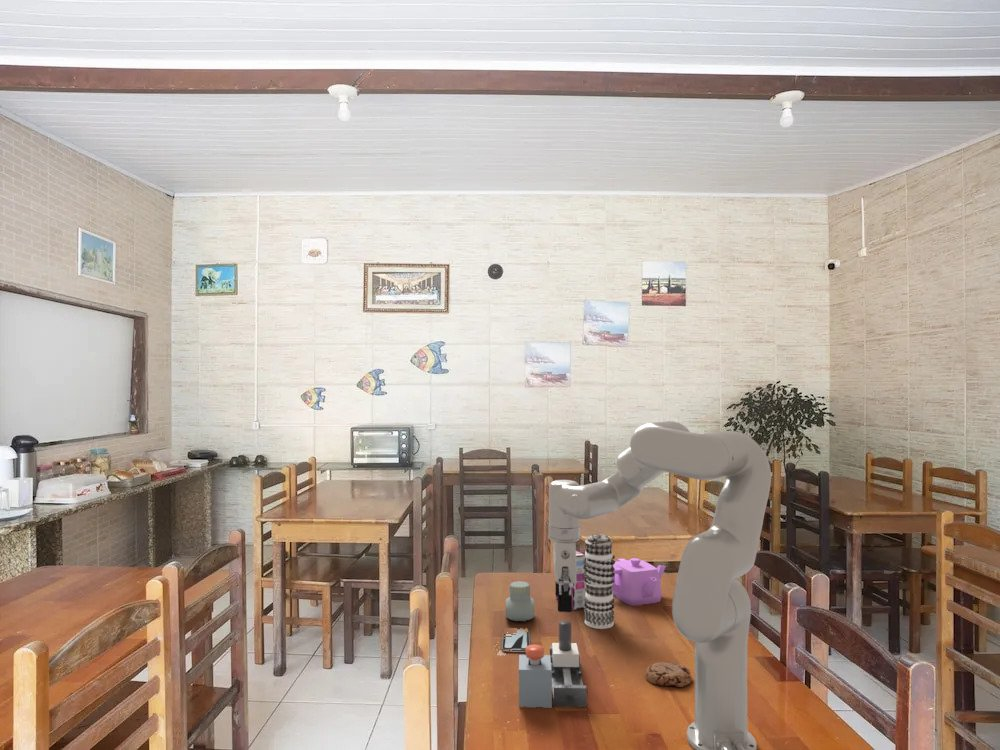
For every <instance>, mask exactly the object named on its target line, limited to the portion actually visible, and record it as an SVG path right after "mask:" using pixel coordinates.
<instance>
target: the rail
mask: <svg viewBox="0 0 1000 750" xmlns="http://www.w3.org/2000/svg"><path fill="white" fill-rule="evenodd" d="M549 655H552V646H549ZM552 661H553V659H552ZM552 663H553V662H552ZM587 690H588V689H587V685H584V683H583V676H582V671H581V672H579V671H578V667H553V672H552V699H553V700H552V702H553V707H555V706H557V707H562V708H564V707H565V708H568V707H569V708H570V707H571V708H572V707H573V708H587V706H588V705H587V704H588V701H587V700H588V699H587V696H588V695H587V692H588V691H587Z"/></svg>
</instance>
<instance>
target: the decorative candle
mask: <svg viewBox="0 0 1000 750" xmlns="http://www.w3.org/2000/svg"><path fill="white" fill-rule="evenodd" d="M584 542H585V551H584V554H585V557H586V558H585V559H584V560H583V564H584V565H583V566H584V567H583V569H585V572H584V576H585V577H584V582H585V583H586V592H585V595H586V597H585V599H584V601H585V604H584V606H585V607H586V608H584V609H583V610H584V611H583V612H584V615H583V618H584V624H585V625H586V626H588V627H590V628H591V629H592V628H593V629H598V630H599V629H600V630H605V629H610V628H612V627H613V626H615V610H614V609H615V604H614V603H615V599H614V594H613V592H612V585H613V584H614V580H613V579H612V577H613V576H614V575H615V574H614V573H613V571H614V570H615V568H614V567H613V565H614V564H615V562H616V560H615V559H616V555H614V554H613V543H614V542H613V540H611V538H610V537H609V536H607V535H605V534H601V533H600V534H599V533H598V534H597V533H595V534H590V535H589V536H588V537H587V538H586V539H584Z"/></svg>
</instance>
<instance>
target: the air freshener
mask: <svg viewBox="0 0 1000 750" xmlns="http://www.w3.org/2000/svg"><path fill="white" fill-rule="evenodd" d="M530 586H531V585H530V583H528V582H526V581H521V580H518V581H512V582H511V583H510V584H509V596H508V597H507V598H506V599H505V618H507V619H509V620H511V621H514V622H518V621H523V622H527V620H528V621H529V620H530V621H531V620H533V619H534V618H535V599H534V598H532V597H531V589H530V588H531V587H530Z"/></svg>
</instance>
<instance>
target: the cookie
mask: <svg viewBox="0 0 1000 750" xmlns="http://www.w3.org/2000/svg"><path fill="white" fill-rule="evenodd" d="M645 679H646V681H648V682H649V683H650V684H653V685H658V686H664V687H668V686H675V687H677V688H683V687H685V686H688V685H690V684H691V682H693V677H692V675H691V670H690V668H688V667H687V666H685V665H682V664H679V663H677V662H656V663H653V664H651V665H649V666H647V668H646V670H645Z"/></svg>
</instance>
